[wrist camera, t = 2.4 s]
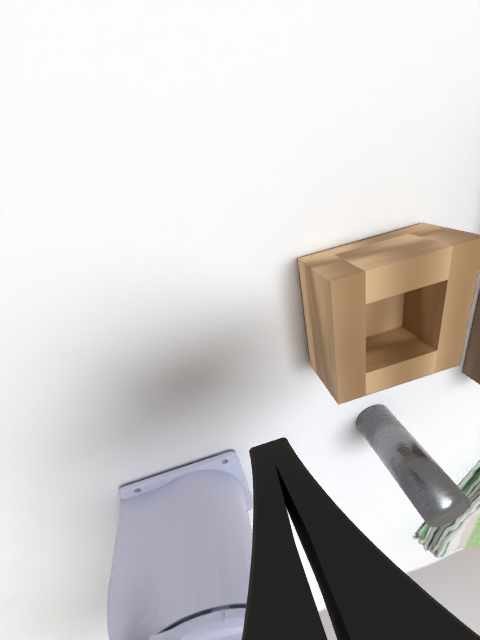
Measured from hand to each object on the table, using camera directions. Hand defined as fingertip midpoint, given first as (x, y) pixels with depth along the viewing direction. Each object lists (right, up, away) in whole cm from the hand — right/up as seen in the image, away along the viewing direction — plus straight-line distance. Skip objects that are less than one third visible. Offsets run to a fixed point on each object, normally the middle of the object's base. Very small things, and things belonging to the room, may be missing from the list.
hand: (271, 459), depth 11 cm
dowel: (+10, -3, +14) cm, 18 cm away
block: (+7, +7, +9) cm, 13 cm away
